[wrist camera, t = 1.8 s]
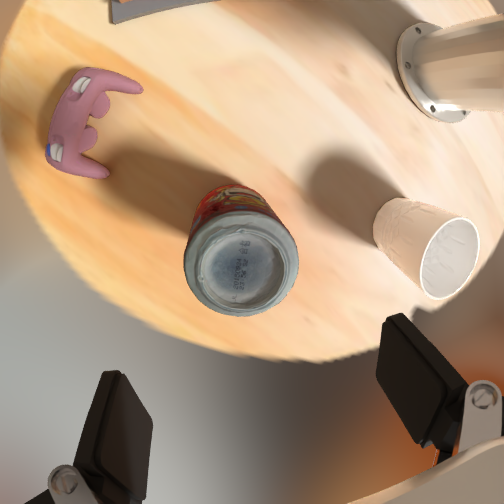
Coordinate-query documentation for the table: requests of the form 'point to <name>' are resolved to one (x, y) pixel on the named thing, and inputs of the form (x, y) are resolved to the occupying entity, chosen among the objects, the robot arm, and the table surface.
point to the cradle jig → (145, 7)
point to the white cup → (427, 245)
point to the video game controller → (83, 120)
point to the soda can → (239, 253)
